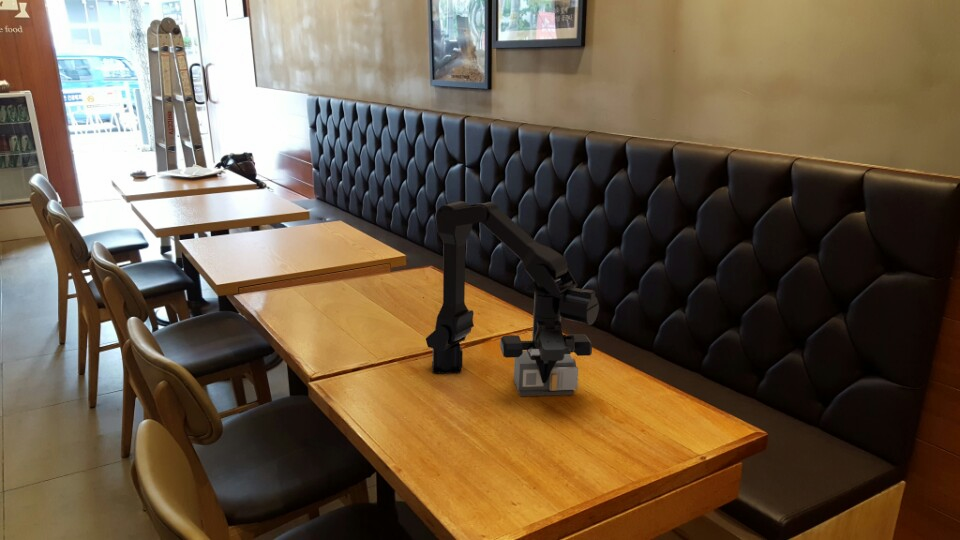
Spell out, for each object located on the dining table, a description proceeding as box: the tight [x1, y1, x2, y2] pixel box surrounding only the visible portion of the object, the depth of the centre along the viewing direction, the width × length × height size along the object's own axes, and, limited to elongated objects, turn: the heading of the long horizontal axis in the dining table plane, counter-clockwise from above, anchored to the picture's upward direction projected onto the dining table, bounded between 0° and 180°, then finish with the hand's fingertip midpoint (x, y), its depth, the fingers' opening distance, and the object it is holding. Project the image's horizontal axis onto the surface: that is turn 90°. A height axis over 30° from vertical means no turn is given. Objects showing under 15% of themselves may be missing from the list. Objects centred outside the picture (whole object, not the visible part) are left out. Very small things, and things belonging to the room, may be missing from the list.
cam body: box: [513, 350, 577, 397], centre depth 150 cm, size 13×8×8 cm, turn 96°
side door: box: [549, 366, 579, 391], centre depth 146 cm, size 6×2×5 cm, turn 96°
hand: (543, 382), depth 145 cm, fingers closed
